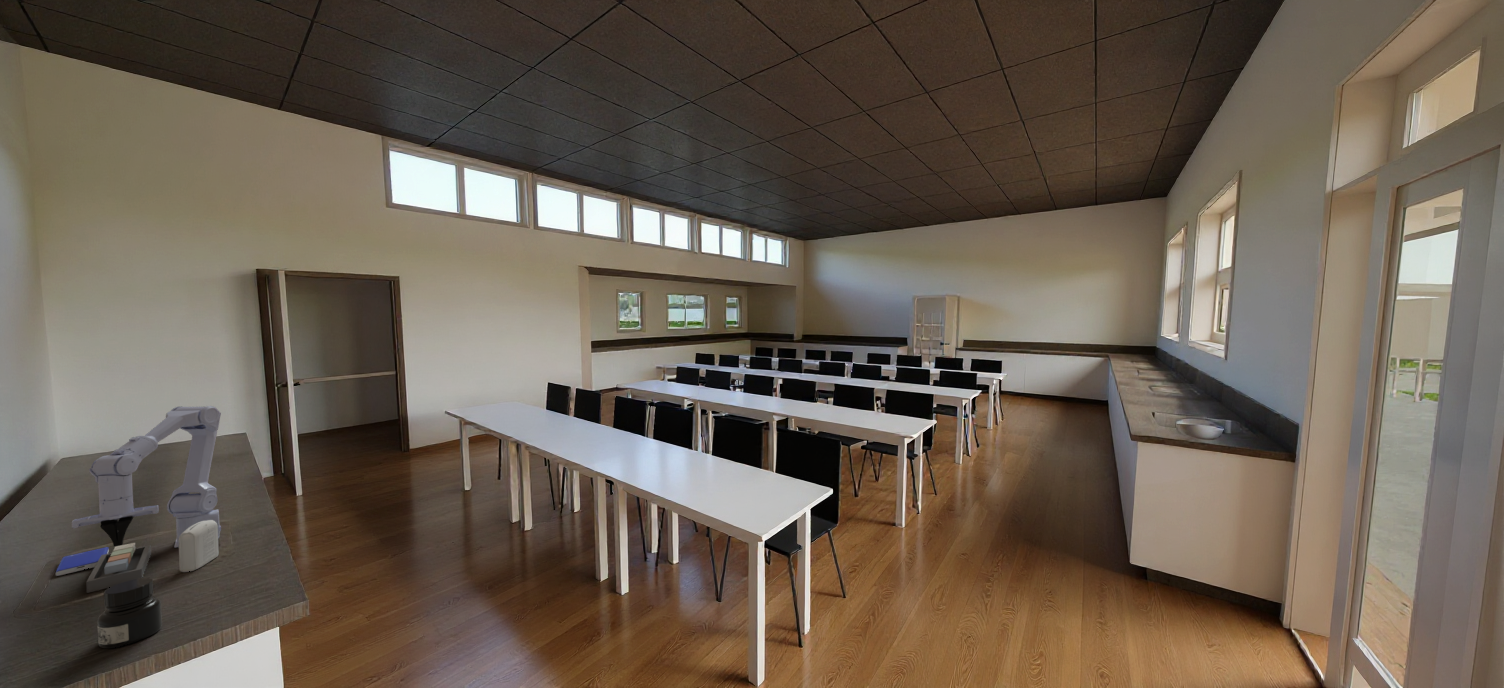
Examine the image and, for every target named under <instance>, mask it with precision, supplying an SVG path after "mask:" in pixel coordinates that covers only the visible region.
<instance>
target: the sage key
mask: <svg viewBox="0 0 1504 688" xmlns="http://www.w3.org/2000/svg"><path fill="white" fill-rule="evenodd" d="M111 553H112V554H111V556H110V557H113V556H118V555H123V554H127V553H131V558H132V556H133V548H128V549H124V550H119V551H114V552H113V551H112V552H111Z"/></svg>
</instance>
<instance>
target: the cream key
mask: <svg viewBox="0 0 1504 688" xmlns="http://www.w3.org/2000/svg"><path fill="white" fill-rule="evenodd" d="M128 548H133V553H134V551H135V548H136V542H131V543H128V544H122V545H120V546H115V547H114V549H112V552H114V551H119V550H124V549H128Z"/></svg>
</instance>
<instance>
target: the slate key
mask: <svg viewBox="0 0 1504 688" xmlns="http://www.w3.org/2000/svg"><path fill="white" fill-rule="evenodd" d="M127 568H128V558H127V559H122V560H118V561H113V562H109V563H106V565H105V567H104V571H105V575H106V574H110V573H112V574H116V573H120V572H122V571H123V570H127Z"/></svg>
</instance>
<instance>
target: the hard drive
mask: <svg viewBox="0 0 1504 688" xmlns="http://www.w3.org/2000/svg"><path fill="white" fill-rule="evenodd" d="M109 551H110V549H109V547H107V546H105V547H101V548H97V549H93V550H88V551H83V552H79V553H75V554H70V555H65V556H63V557H62V558H61V560H60V563H58V564H59V565H58V566H57V568H56V571H55V576H56V577H57V576H63V575H66V574H71V573H76V572H80V571H85V570H87V569H88V568H89V569H94V567H95V566H96V564H97V562H98V560H99V559H100V557H101V555H104V554H109ZM84 569H85V570H84Z"/></svg>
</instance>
